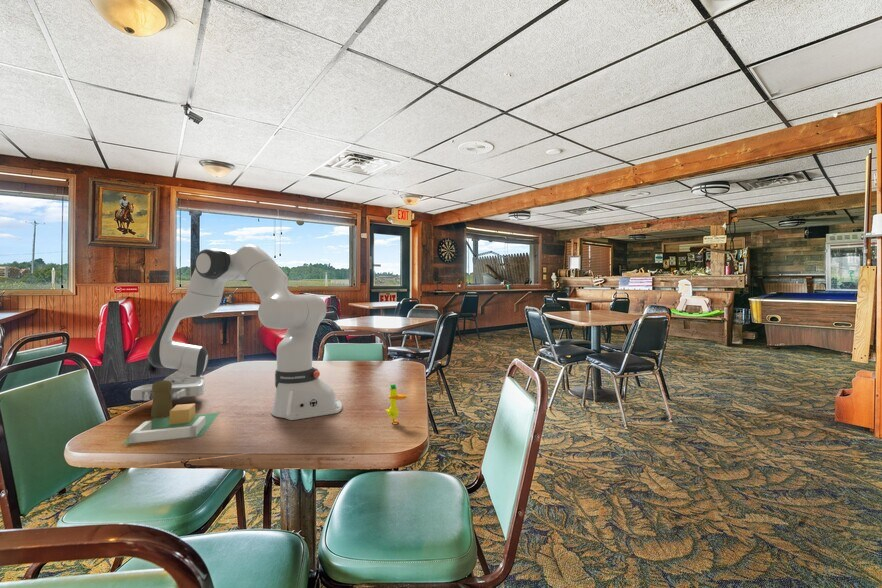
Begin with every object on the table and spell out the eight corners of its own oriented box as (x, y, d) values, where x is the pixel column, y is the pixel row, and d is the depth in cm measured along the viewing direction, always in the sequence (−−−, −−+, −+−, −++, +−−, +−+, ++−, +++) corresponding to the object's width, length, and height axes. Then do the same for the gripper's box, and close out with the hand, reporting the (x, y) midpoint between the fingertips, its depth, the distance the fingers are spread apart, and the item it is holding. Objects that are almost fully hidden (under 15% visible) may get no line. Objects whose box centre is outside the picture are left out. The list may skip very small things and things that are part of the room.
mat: (219, 413, 121) (219, 412, 121) (201, 437, 102) (201, 436, 102) (153, 419, 115) (153, 418, 115) (121, 445, 97) (121, 444, 97)
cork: (161, 419, 116) (161, 384, 116) (145, 417, 117) (145, 382, 117) (178, 412, 122) (178, 379, 121) (163, 411, 123) (163, 378, 123)
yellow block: (195, 415, 118) (195, 403, 118) (189, 422, 112) (189, 409, 112) (176, 417, 116) (176, 404, 116) (169, 424, 111) (169, 411, 111)
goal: (205, 424, 111) (205, 415, 111) (195, 436, 102) (195, 427, 102) (145, 430, 106) (145, 421, 106) (129, 443, 97) (129, 433, 97)
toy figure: (406, 421, 116) (407, 382, 116) (406, 425, 113) (406, 386, 112) (385, 421, 116) (385, 382, 116) (383, 425, 112) (384, 386, 112)
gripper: (140, 379, 128) (121, 390, 115) (209, 375, 135) (197, 384, 122) (141, 397, 128) (121, 410, 115) (209, 392, 135) (197, 404, 122)
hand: (161, 397), depth 118 cm, fingers open, 6 cm apart
